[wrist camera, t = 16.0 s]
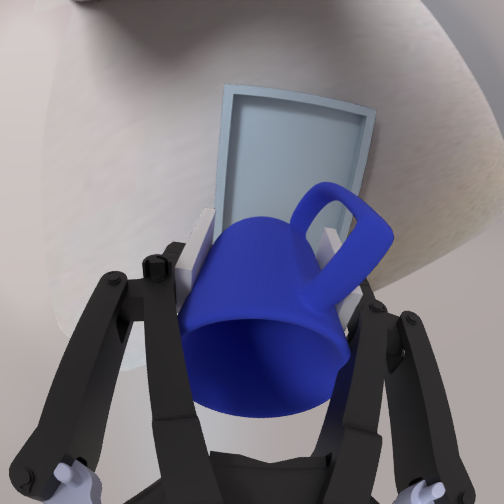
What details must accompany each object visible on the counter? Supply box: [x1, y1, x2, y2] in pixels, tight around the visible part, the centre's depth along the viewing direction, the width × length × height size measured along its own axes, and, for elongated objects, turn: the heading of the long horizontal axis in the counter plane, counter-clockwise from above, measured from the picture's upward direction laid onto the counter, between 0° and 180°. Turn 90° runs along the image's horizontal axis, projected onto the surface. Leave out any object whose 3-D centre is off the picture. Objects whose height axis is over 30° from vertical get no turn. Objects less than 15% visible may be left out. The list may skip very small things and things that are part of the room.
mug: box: [177, 182, 394, 418], centre depth 14 cm, size 8×12×10 cm
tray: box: [213, 84, 377, 256], centre depth 32 cm, size 24×16×2 cm, turn 174°
